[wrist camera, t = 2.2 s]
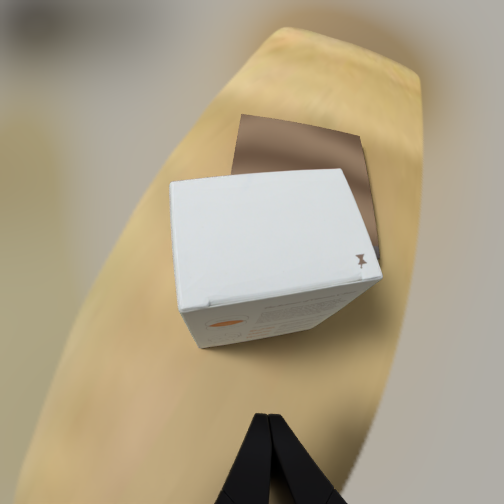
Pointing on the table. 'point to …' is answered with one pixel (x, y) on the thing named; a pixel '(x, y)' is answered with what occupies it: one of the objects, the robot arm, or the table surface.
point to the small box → (266, 253)
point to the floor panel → (305, 156)
